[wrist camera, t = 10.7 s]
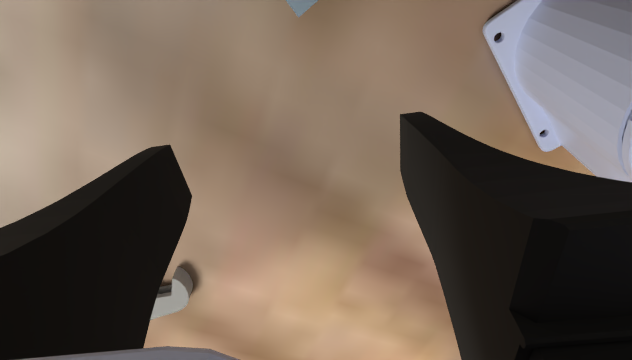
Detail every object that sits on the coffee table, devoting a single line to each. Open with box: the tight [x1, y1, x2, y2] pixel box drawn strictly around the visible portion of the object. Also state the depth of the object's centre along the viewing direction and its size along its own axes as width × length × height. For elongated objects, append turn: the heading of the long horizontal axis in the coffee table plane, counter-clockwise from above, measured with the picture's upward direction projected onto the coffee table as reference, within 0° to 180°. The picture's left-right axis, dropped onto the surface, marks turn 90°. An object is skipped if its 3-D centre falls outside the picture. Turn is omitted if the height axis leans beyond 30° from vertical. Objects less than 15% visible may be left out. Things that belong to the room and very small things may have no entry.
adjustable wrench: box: [150, 267, 193, 320], centre depth 35 cm, size 25×6×2 cm, turn 138°
